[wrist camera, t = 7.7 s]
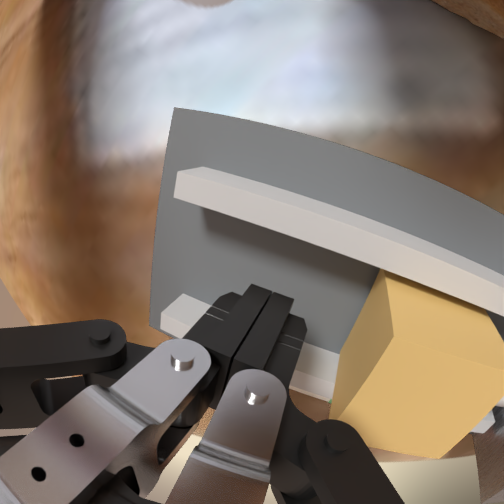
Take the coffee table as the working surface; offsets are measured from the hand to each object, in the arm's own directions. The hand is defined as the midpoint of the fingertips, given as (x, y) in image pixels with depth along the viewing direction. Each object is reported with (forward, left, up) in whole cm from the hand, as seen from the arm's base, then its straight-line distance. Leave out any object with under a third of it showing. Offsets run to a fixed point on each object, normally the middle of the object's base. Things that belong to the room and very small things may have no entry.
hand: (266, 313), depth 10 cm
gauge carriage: (+8, -2, -3) cm, 9 cm away
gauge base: (+5, 0, -4) cm, 7 cm away
